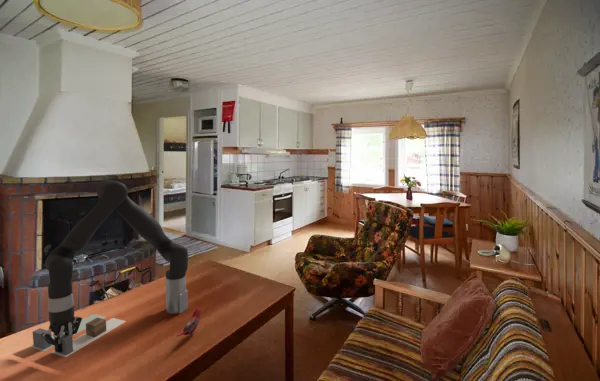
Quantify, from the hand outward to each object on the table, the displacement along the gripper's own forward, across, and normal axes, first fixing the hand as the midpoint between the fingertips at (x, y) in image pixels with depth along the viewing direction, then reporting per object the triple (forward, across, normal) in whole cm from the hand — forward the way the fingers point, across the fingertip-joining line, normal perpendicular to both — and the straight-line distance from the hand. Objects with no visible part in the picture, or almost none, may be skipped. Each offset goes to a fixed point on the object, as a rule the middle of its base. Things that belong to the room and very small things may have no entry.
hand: (64, 349), depth 114 cm
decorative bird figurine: (+2, +25, -37) cm, 45 cm away
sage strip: (+2, +10, +11) cm, 15 cm away
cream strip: (+2, +11, 0) cm, 11 cm away
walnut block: (+1, +13, 0) cm, 13 cm away
